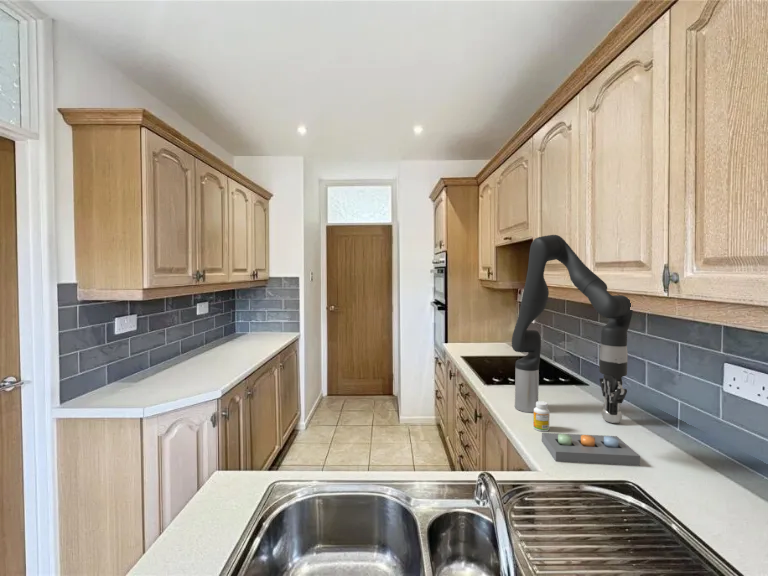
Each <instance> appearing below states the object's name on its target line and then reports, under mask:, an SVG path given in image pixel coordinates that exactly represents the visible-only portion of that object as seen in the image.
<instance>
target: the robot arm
mask: <svg viewBox="0 0 768 576" xmlns="http://www.w3.org/2000/svg"><path fill="white" fill-rule="evenodd" d="M555 260H556V261H558V262H560V263H561V264H562V265H563V266H565V268H566V269H567V271H568V275H569V278H570V281H571V283H572V284H573V285H574V286H575V287H576V288H577V289H578V291H579V292H581V293H582V294H583V295H584V296H585V297H586V298H587V299H588V301H589V302H590V304H591V305H592V307H593V308H594V310H595V311H596V312H597V313H598V314H599V315H600V316H602V317H604V318H606V319H608V321H607V323H606V324H605V325H603V326H602V328H601V332H600V348H599V362H598V363H599V365H598V366H599V369H598V372H599V373H600V374H601V375H603V377H602V378H601V377H600V378H599V384H600V388H601V393H602V396H603V397H604V396H605V399H606V400H607V404H606V411H607V412H608V413H609V414H611V415H617V412H618V403H620V404H623V402H624V399H625V398H626V395H627V393H628V389H626V388H624V387H623V384H624V383H623V378H624V377H626V376H627V375H628V353H629V352H628V330H629V328H630V325H631V322H632V321H631V320H632V316H633V312H634V311H633V310H634V309H633V310H630V307H631V303H632V302H631V303H630V301H631V300H630V298H629V299H628V297H627V296H626V295H619V294H618V295H613V294H611V293H610V292H609V291H608V286H607V283H606V282H605V281H604V280H602V278H601V277H599V276H598V275H597V274H596V273H594V272H593V271H592V270H591V269H590V268H589V267H588V266H587V265H586V264H585V263H584V262H583V261H582V260H581V258H580V257H579V256H578V255H577V253H575V251H574V250H573V249H572V247H571V246H570V244H568V243H567V241H566V240H565V239H564V238H563V237H562V236H559V235H558V234H550V235H549V234H548V235H544V236H538V237H536V238H534V239H533V241H532V242H531V244H530V247H529V254H528V264H527V272H526V278H525V283H524V288H523V291H522V296H521V302H520V307H519V311H518V317H517V320H516V323H515V327H514V329H513V332H512V336H511V337H512V338H511V346H512V350H513V351H514V352H516V353H527V355H525V356H523V357H522V358H519V359H517V360H515V364H514V365H515V367H514V368H515V369H514V370H515V374H514V375H515V376H514V377H515V379H514V382H515V383H514V409H515V410H518V411H520V412H524V413H534V408H535V407H536V402H537V401H539V389H540V388H539V384H540V381H539V380H540V374H539V372H540V371H539V370H540V363H541V349H542V339H541V338H542V337H541V334H540V332H539V330H533V329H532V330H531V329H528V328H529V326H531V324H532V323H533V322H534V321H535V320H536V319H537V318H538V317H539V316H540V315H541V314H542V313H543V312H544V310H545V309H546V307H547V302H548V299H549V295H550V293H549V291H550V290H549V287H548V284H547V282H546V280H545V268H546V266H547V263H548V262H549V261H551V262H552V261H555Z"/></svg>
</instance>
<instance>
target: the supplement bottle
mask: <svg viewBox="0 0 768 576" xmlns="http://www.w3.org/2000/svg"><path fill="white" fill-rule="evenodd" d="M548 407H549V405H548V402H546V401H542V400H538V401H537V402H536V407H535V408H534V412H533V424H532V425H533V429H534V430H535V431H538V432H542V433H546V432H548V431H549V430H550V409H549V408H548Z"/></svg>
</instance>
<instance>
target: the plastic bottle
mask: <svg viewBox="0 0 768 576" xmlns="http://www.w3.org/2000/svg"><path fill="white" fill-rule="evenodd" d="M606 404H607V400H606V399H605V396H603V407H602V410H601V416H602V417H601V418H602V419H603V420H604V421H605V422H607V423H611V424H612V423H613V424H619V423H621V421H622V420H623V416H622V415H623V413H622V411H621V410H622V409H621V408H622V407H621V403H618V412H617V415H611V414H609V413H608V412H607V411H606Z"/></svg>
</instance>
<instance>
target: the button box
mask: <svg viewBox="0 0 768 576" xmlns="http://www.w3.org/2000/svg"><path fill="white" fill-rule="evenodd" d="M558 434H560V433H557V432H556V433H555V432H554V433H553V432H551V433H550V432H541V442H542V444H543V445H544V447H545V448H546V450H547V451H548V452H549V454H550V455H551V457H552V459H553V460H554V461H555V462H558V463H559V462H561V463H579V464H598V465H616V466H635V467H636V466H637V467H641V466H640V465H641V455H640V454H639V453H637V452H636V451H635V450H634V449H633V448H632V447H630V446H629V445H628V444H627V443H626V442H625V441H623V440H622V439H621V438H620V437H618V435H612V436H613V437H616V438H618V440H619V442H618V448H608V447H606V446H605V445H604V436H605V435H599V434H598V435H597V434H589V435H590V436H593V437H594V438H595V447H585V446H582V445H581V435H582V434H575V433H566V434H567V435H570V436H571V437H572V446H564V445H560V444H558Z"/></svg>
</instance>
